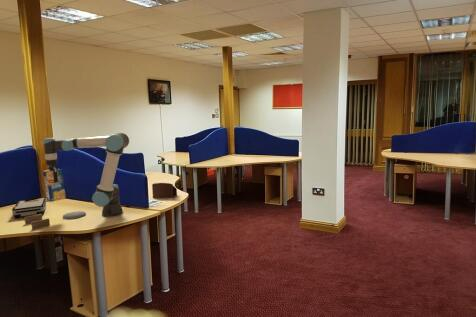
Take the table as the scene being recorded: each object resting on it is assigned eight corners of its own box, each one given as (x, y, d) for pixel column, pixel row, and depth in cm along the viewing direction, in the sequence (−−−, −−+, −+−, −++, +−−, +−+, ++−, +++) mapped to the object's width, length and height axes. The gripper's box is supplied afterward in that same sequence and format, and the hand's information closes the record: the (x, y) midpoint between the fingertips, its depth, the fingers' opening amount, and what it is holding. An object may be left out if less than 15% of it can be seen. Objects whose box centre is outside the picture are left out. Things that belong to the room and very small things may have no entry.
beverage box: (46, 200, 257) (42, 171, 254) (62, 197, 265) (58, 168, 262) (49, 202, 252) (46, 171, 249) (65, 198, 260) (62, 169, 257)
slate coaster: (89, 215, 270) (89, 213, 270) (67, 220, 259) (67, 219, 259) (81, 211, 281) (80, 210, 281) (59, 216, 270) (59, 214, 270)
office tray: (46, 205, 304) (45, 196, 303) (44, 215, 275) (43, 205, 274) (18, 209, 295) (17, 200, 294) (13, 219, 267) (12, 209, 265)
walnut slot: (50, 225, 249) (49, 218, 248) (32, 229, 241) (31, 222, 240) (41, 220, 262) (41, 213, 261) (25, 224, 254) (24, 217, 253)
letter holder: (173, 198, 314) (172, 183, 312) (152, 198, 318) (151, 183, 316) (177, 195, 324) (176, 180, 322) (157, 195, 328) (156, 180, 326)
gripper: (42, 159, 257) (46, 190, 260) (49, 160, 247) (53, 193, 250) (53, 157, 262) (57, 188, 266) (60, 159, 252) (64, 191, 255)
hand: (55, 190), depth 258 cm, fingers closed on beverage box, 2 cm apart
